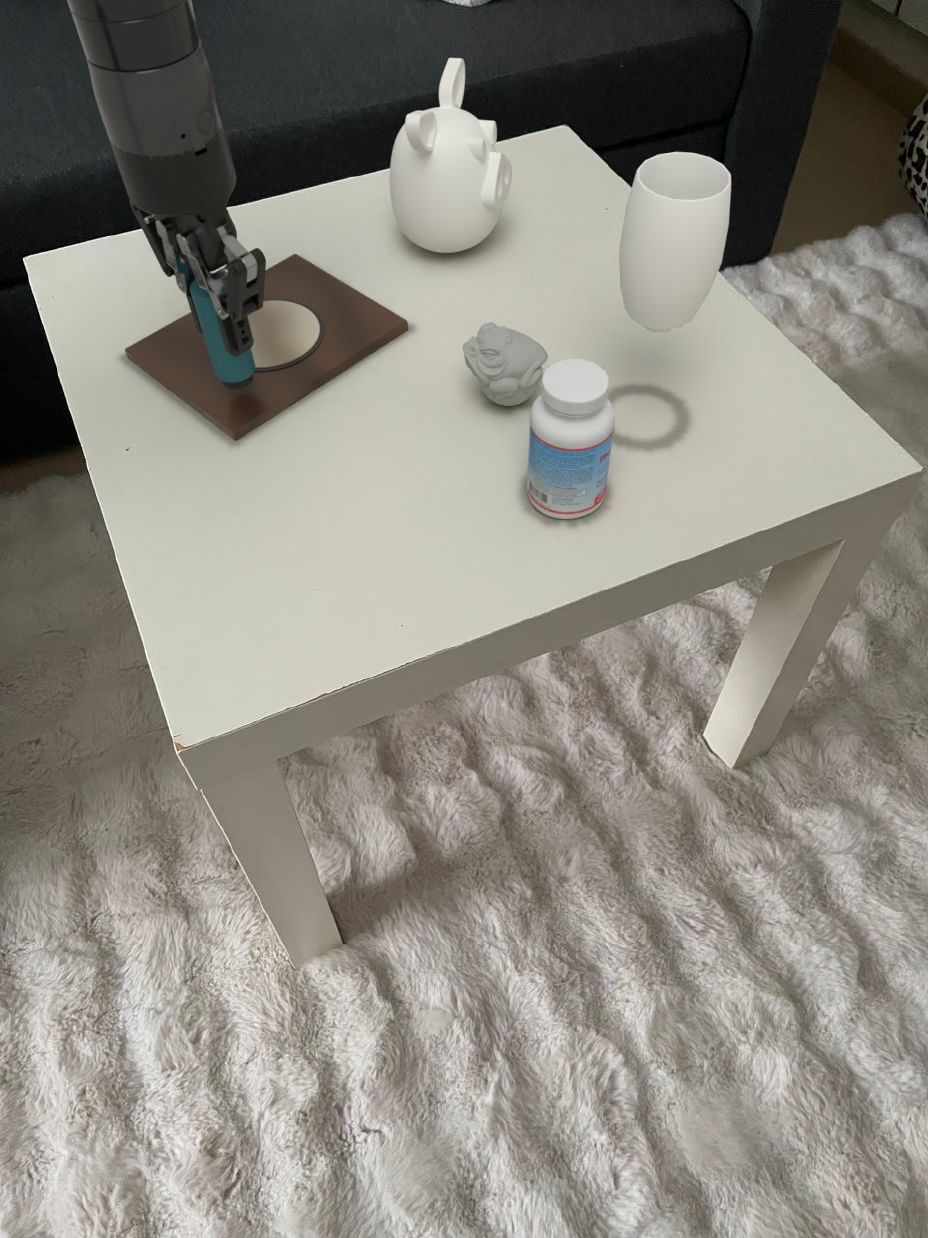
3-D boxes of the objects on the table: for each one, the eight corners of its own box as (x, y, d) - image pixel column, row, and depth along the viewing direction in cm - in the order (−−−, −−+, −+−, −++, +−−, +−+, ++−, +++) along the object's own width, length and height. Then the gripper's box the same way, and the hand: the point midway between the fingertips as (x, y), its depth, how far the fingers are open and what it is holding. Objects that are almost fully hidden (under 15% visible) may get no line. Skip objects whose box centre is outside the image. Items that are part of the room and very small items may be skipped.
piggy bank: (512, 275, 89) (515, 117, 77) (391, 277, 89) (376, 120, 77) (509, 205, 96) (512, 50, 84) (398, 207, 97) (384, 53, 85)
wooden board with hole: (235, 441, 77) (232, 430, 76) (127, 357, 83) (123, 346, 82) (408, 329, 85) (407, 318, 84) (297, 261, 91) (295, 250, 90)
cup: (626, 458, 74) (666, 216, 57) (582, 404, 78) (607, 163, 61) (702, 430, 76) (762, 188, 59) (655, 378, 80) (699, 137, 63)
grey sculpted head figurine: (461, 378, 80) (459, 310, 75) (540, 372, 81) (544, 303, 75) (467, 426, 77) (465, 358, 71) (550, 419, 77) (555, 351, 71)
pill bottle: (613, 516, 71) (631, 403, 62) (535, 527, 70) (541, 414, 61) (593, 461, 74) (608, 346, 65) (519, 471, 74) (523, 357, 65)
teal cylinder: (234, 398, 76) (207, 304, 69) (209, 379, 78) (180, 286, 70) (266, 378, 78) (243, 284, 70) (241, 360, 79) (216, 266, 72)
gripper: (57, 107, 62) (137, 324, 76) (180, 181, 56) (243, 402, 70) (150, 68, 65) (211, 283, 79) (276, 134, 59) (318, 355, 73)
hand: (226, 338), depth 74 cm, fingers closed on teal cylinder, 3 cm apart
